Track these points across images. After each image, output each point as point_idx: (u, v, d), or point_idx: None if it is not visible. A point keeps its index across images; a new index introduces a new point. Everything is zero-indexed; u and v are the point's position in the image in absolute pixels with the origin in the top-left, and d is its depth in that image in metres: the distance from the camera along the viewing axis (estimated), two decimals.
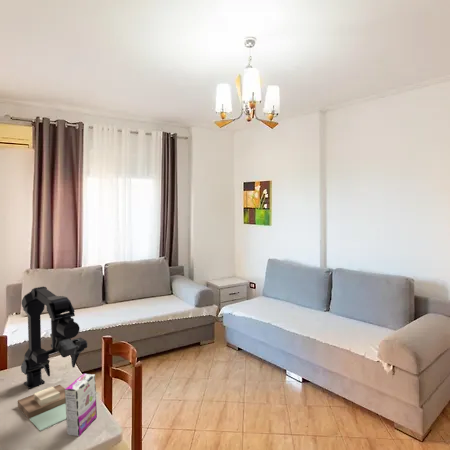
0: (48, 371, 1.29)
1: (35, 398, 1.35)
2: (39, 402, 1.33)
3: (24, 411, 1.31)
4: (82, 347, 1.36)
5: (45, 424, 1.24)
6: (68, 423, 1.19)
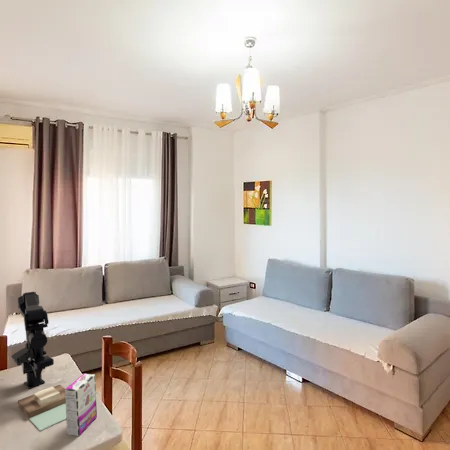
0: (34, 372, 1.42)
1: (35, 398, 1.35)
2: (39, 402, 1.33)
3: (24, 411, 1.31)
4: (35, 366, 1.35)
5: (45, 424, 1.24)
6: (68, 423, 1.19)
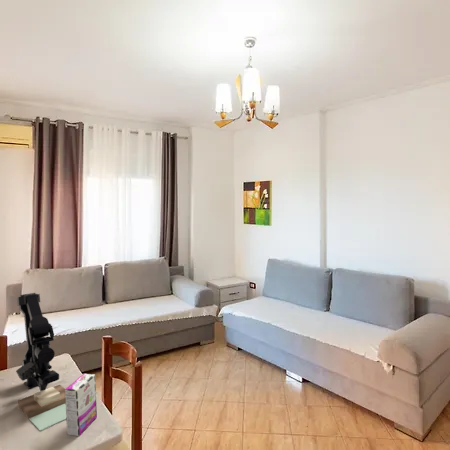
0: (39, 387, 1.39)
1: (36, 398, 1.35)
2: (39, 402, 1.33)
3: (24, 411, 1.31)
4: (40, 381, 1.32)
5: (45, 424, 1.24)
6: (68, 423, 1.19)
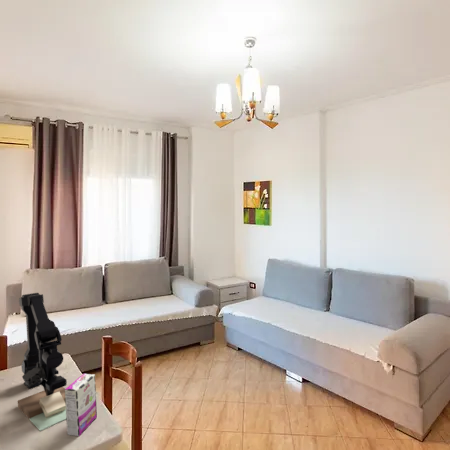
0: None
1: (41, 404, 1.31)
2: (44, 412, 1.29)
3: (24, 411, 1.31)
4: (47, 387, 1.28)
5: (45, 424, 1.24)
6: (68, 423, 1.19)
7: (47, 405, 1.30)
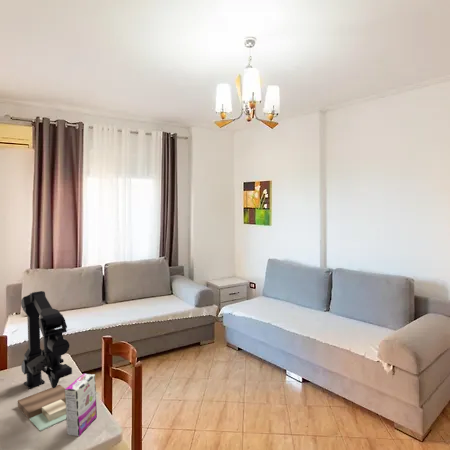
0: (50, 382, 1.31)
1: (44, 412, 1.29)
2: (48, 417, 1.27)
3: (24, 411, 1.31)
4: (52, 376, 1.24)
5: (45, 424, 1.24)
6: (68, 423, 1.19)
7: (49, 410, 1.29)
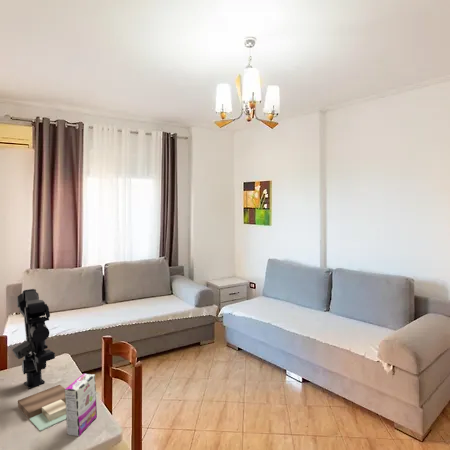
0: (35, 366, 1.41)
1: (44, 412, 1.29)
2: (48, 417, 1.27)
3: (24, 411, 1.31)
4: (36, 360, 1.34)
5: (45, 424, 1.24)
6: (68, 423, 1.19)
7: (49, 410, 1.29)
